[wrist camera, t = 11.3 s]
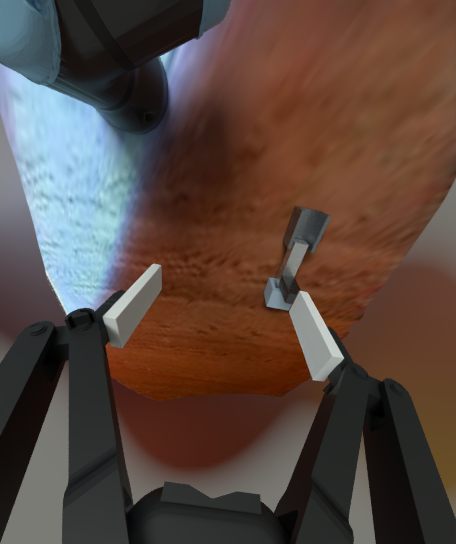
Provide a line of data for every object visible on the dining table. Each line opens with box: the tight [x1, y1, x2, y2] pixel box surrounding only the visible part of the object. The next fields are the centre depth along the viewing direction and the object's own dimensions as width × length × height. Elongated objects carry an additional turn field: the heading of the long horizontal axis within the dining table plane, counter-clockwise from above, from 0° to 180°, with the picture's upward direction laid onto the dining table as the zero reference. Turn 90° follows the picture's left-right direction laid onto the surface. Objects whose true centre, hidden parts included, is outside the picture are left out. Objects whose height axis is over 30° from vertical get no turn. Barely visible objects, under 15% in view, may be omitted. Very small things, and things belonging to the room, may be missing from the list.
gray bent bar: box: [274, 239, 309, 304], centre depth 44 cm, size 16×3×11 cm, turn 170°
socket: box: [264, 277, 291, 310], centre depth 51 cm, size 6×7×7 cm
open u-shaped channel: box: [283, 206, 331, 253], centre depth 42 cm, size 9×7×5 cm
